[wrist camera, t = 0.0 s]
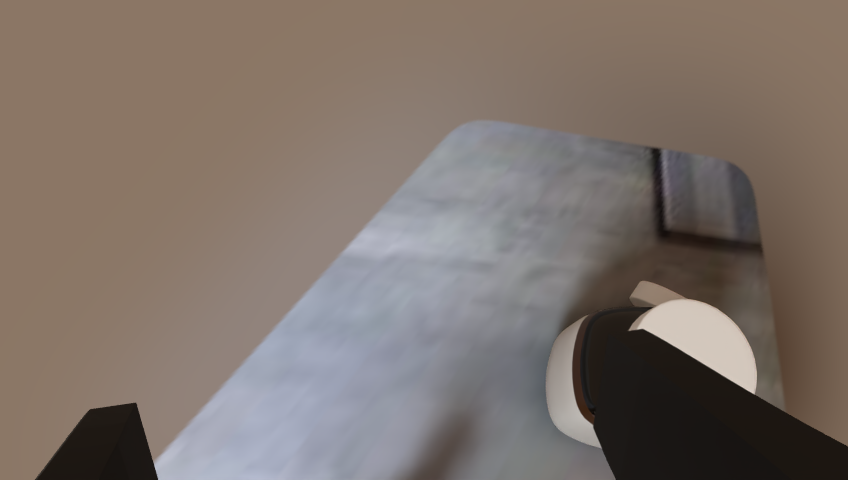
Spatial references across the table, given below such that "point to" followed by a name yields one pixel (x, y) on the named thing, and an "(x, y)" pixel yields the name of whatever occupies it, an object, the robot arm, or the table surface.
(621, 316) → the spread jar
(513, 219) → the table surface
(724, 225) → the table surface
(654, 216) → the table surface
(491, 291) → the table surface
